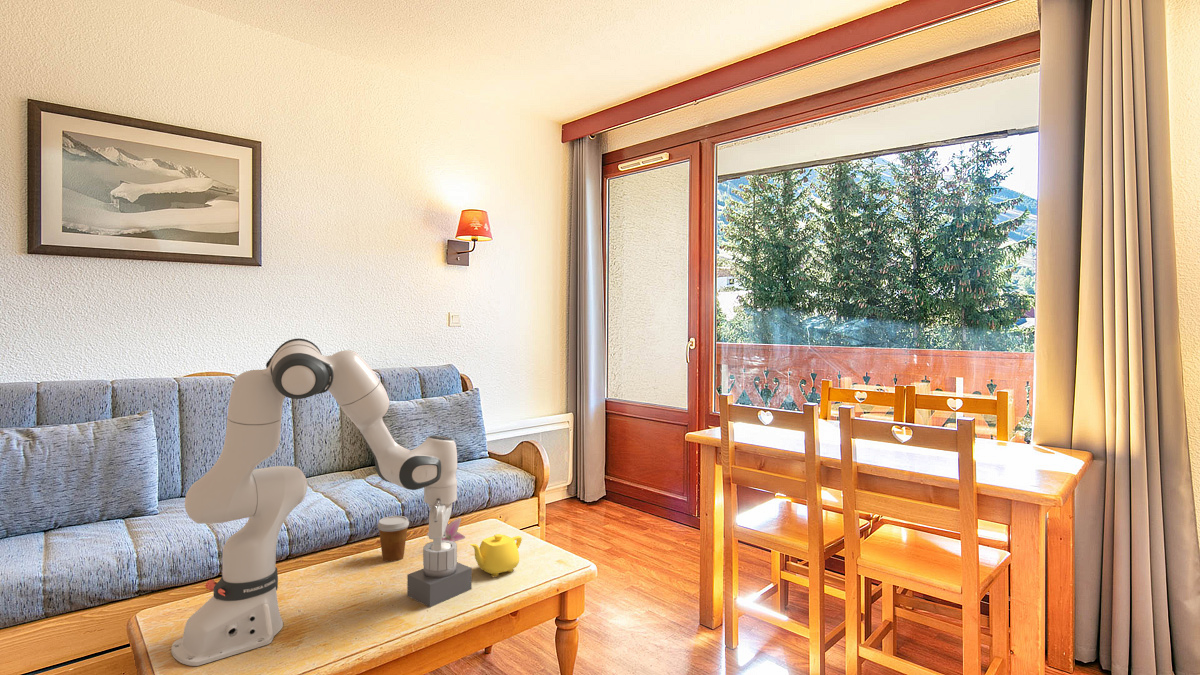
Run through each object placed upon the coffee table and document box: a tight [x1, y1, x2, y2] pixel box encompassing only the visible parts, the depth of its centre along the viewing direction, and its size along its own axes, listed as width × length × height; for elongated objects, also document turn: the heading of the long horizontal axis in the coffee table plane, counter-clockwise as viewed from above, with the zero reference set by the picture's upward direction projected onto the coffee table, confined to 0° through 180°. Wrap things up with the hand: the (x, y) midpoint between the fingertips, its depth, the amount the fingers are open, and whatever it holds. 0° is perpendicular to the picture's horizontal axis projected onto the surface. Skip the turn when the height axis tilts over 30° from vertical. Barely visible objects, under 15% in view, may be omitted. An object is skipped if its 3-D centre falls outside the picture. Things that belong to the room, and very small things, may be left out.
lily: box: [426, 517, 466, 543], centre depth 200 cm, size 12×12×10 cm
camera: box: [406, 540, 473, 608], centre depth 169 cm, size 14×10×13 cm
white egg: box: [431, 542, 451, 551], centre depth 169 cm, size 5×5×5 cm
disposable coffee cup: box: [376, 515, 410, 562], centre depth 192 cm, size 10×10×12 cm
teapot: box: [469, 533, 523, 577], centre depth 184 cm, size 18×11×11 cm, turn 131°
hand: (440, 543), depth 168 cm, fingers open, 8 cm apart
